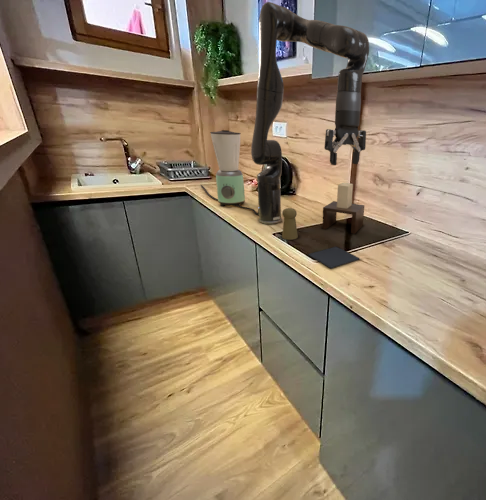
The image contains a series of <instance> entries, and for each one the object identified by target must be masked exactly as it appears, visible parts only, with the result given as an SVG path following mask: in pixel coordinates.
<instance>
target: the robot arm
mask: <svg viewBox="0 0 486 500" xmlns="http://www.w3.org/2000/svg"><path fill="white" fill-rule="evenodd" d="M277 41H279V42H282V43H283V42H289V43H290V42H292V43H293V42H295V43H303V44H305V45H307V46H309V47H311V48H314V49H316V50H319V51H322V52H326V53H330V54H333V55H335V56H338V57H341V58H344V59H347V63H346V66H345V68H342V69H340V70H339V71H338V75H337V86H336V96H335V97H336V98H335V114H334V127H335V128H334V129H330V128H327V129H325V137H324V150H325V151H328V152H329V163H330V165H332V166H337V163H338V162H337V161H338V150H339V148H341V147H342V146H347V145H349V146H350V147H351V148H352V150H353V151H352V160H351V161H352V164H353V165H358V164H359V162H360V155H361V152H362V151H365V150H366V145H367V144H366V143H367V131H366V130H365V129H364V130H363V129H359V126H360V121H361V120H360V119H361V109H362V108H361V106H362V96H361V95H362V83H363V75H364V72H365V69H366V65H367V62H368V59H369V54H370V42H369V37H368V36H367V35H366V34H365V32H362V31H360V30H357V29H355V28H352V27H350V26H346V25H339V24H334V23H331V22H328V21H323V20H319V19H306V18H304V17H302V16H300V15H299V14H296V13H294V12H293V11H291V10H290V9H289V8H287V7H284V6H282V5H279V4H277V3H274V2H271V1H267V2H265V3H264V4H262V7H261V8H260V12H259V18H258V57H259V58H258V73H257V75H258V77H257V86H256V105H255V107H256V109H255V119H254V128H253V133H252V139H251V146H250V147H251V148H250V153H251V159H252V161H253V163H254V164H256V165H257V166H258V165H259V166H264V165H266V166H265V168H264V169H263V170H261V171H260V172H258V173H257V174H256V181H257V201H258V203H257V204H258V209H257V211H256V210H255V208H251V207H248V206H244V205H243V206H242V205H240V206H239V205H231V206H233V207H236V208H240V209H245V210H249V211H252V212H253V213H254V214H255V215H256V216H258V220H259V223H261V224H265V225H274V224H275V225H276V224H280V223H281V222H282V202H281V200H282V199H281V176H282V171H283V170H282V166H283V151H282V147H281V144H280V143H279V142H278V140H275V139H268V138H269V137H268V136H269V132H270V128H271V126H272V124H273V123H274V122H275V120H276V118H277V117H278V115H279V113H280V112H281V110H282V106H283V103H284V102H283V101H284V92H285V86H284V85H285V84H284V80H283V77H282V74H281V71H280V68H279V64H278V62H277V61H278V60H277V53H276V52H277ZM334 137H335V138H334ZM200 187H201V188H202V189H203V190H204V192H205V193H206V195H207V196H209V197H210V198H211V199H212V200H215V201H216V202H218V198H216V197H214V196H213V195H211V194H210V193H209V192H208V191H207V189H206V188H205V186H204V185H202V184H201V185H200Z"/></svg>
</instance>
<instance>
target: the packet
mask: <svg viewBox="0 0 486 500" xmlns="http://www.w3.org/2000/svg"><path fill="white" fill-rule="evenodd" d="M353 187H354V184H353V183H349V182H342V183H339V184H338V185H337V193H336V194H337V195H336V197H337V198H336V202H337V207H338V208H345V209H347V208H349V207H350V206H351V205H352V204H353V192H354V191H353V190H354V189H353Z"/></svg>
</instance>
